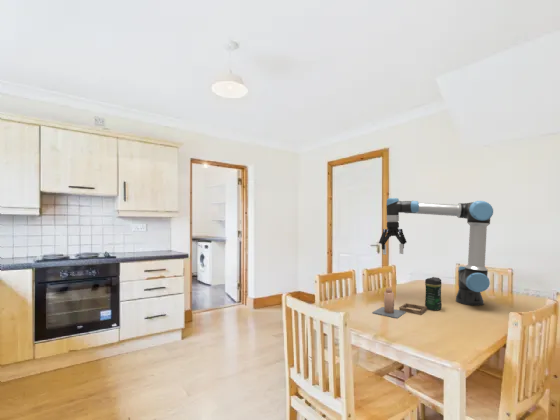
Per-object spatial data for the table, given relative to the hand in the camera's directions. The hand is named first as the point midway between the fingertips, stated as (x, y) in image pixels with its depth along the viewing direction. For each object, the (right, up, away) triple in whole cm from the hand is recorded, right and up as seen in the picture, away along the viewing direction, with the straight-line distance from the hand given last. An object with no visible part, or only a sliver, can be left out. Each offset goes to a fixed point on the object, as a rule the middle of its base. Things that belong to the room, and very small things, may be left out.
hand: (393, 254), depth 198 cm
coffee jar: (+18, -31, -17) cm, 39 cm away
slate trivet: (-12, -30, -25) cm, 41 cm away
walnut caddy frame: (+4, -30, -20) cm, 37 cm away
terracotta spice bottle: (-12, -29, -25) cm, 40 cm away
